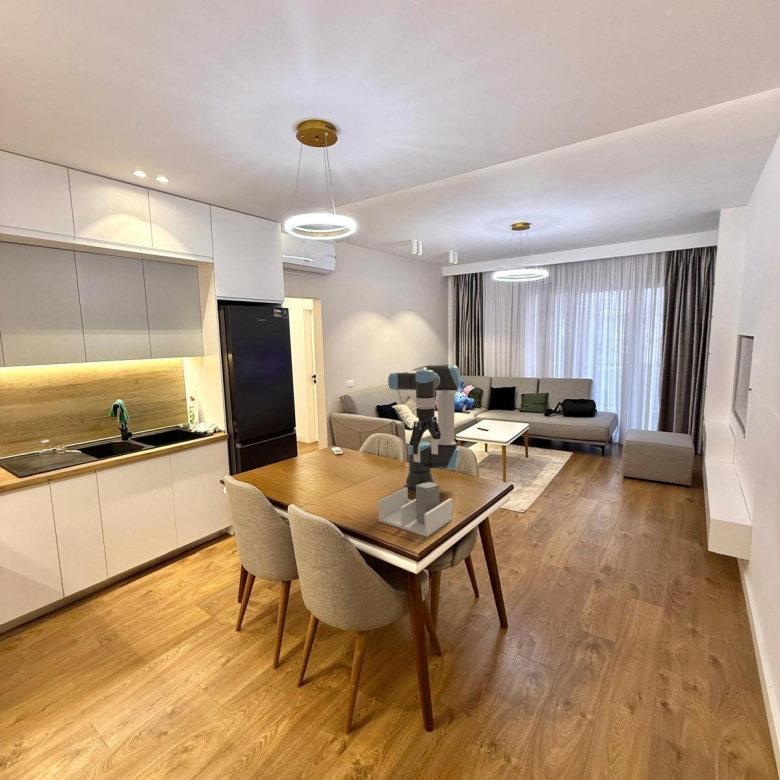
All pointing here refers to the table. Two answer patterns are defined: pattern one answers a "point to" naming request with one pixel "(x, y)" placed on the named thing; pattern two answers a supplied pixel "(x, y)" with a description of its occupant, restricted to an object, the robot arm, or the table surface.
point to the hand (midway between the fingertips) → (426, 457)
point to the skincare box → (426, 499)
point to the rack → (413, 513)
